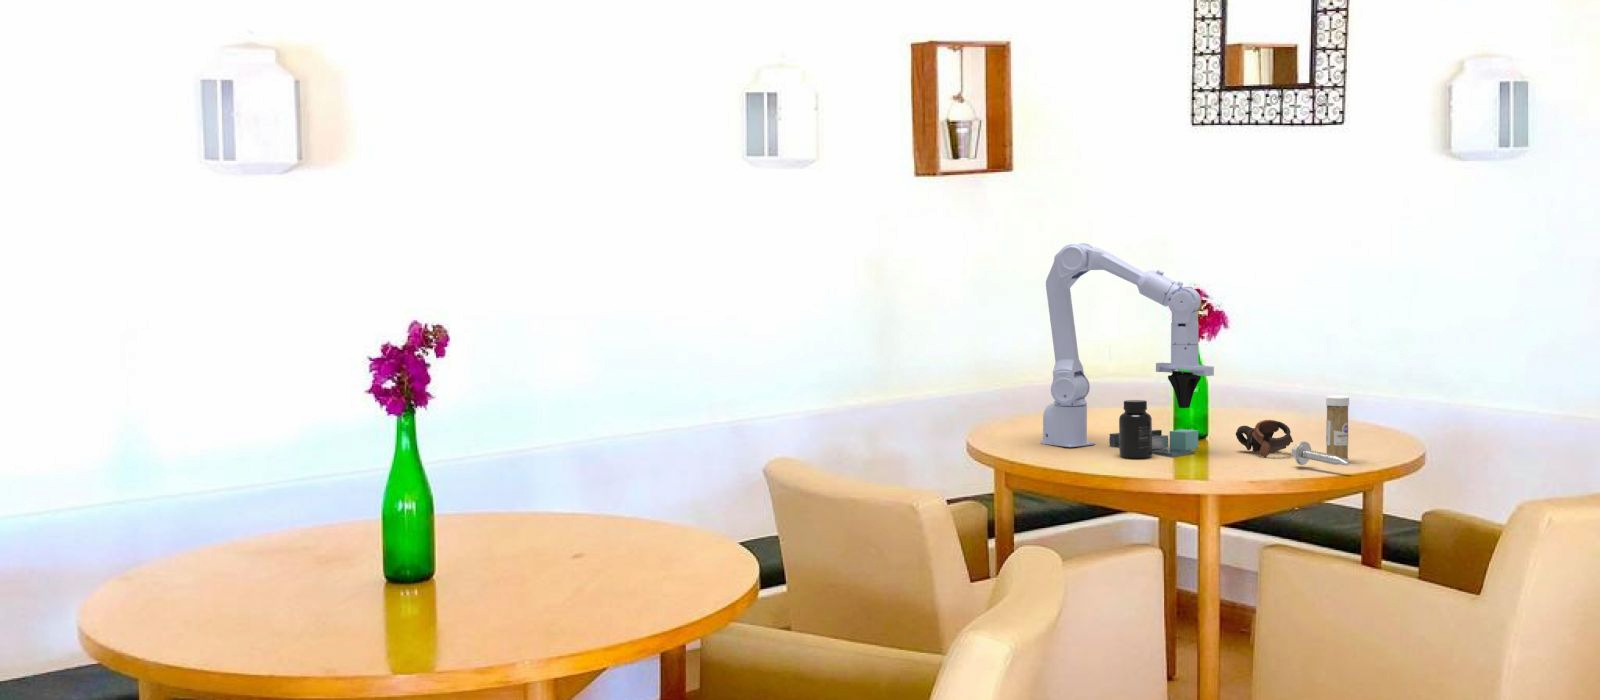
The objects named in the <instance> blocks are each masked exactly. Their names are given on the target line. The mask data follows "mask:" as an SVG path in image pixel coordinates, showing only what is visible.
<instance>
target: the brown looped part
mask: <svg viewBox="0 0 1600 700" xmlns="http://www.w3.org/2000/svg"><path fill="white" fill-rule="evenodd" d="M1280 429H1281V430H1282V431H1283V433H1284V434H1285V435H1283V436H1280V437H1273V436H1274V434H1275V433H1277V432H1278V431H1279V430H1280ZM1235 437H1236V439H1237V440H1238V442H1239V443H1240V444H1241V445H1243V446H1245V448H1246V450H1247V451H1250V450H1251V449H1252V452H1256V451H1257V450H1258V454H1259V455H1260V456H1261V457H1264V458H1266V457H1267V456H1268V455H1269V454H1271V453H1275V452H1279V451H1281V450H1284V449H1287V447H1289V446H1290V445H1291V443H1293V442H1294V439H1293V437H1292V435H1291V430H1290V427H1289V426H1288V425H1287V424H1286V423H1284V422H1282V421H1277V420H1274V419H1264V420H1260V421H1259V422H1257V423H1256V425H1255V426H1254V427H1250V426H1248V425H1240V426H1239V427H1238V428H1237V429H1236V432H1235ZM1278 450H1279V451H1278Z"/></svg>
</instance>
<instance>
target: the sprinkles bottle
mask: <svg viewBox="0 0 1600 700" xmlns="http://www.w3.org/2000/svg"><path fill="white" fill-rule="evenodd" d="M1325 400H1326V401H1325V405H1326V420H1325V421H1326V422H1325V424H1326V429H1325V431H1326V434H1325V435H1326V436H1325V437H1326V439H1325V440H1326V441H1325V443H1326V444H1325V445H1326V452H1325V453H1326V454H1331V455H1336V456H1338V457H1339V458H1344V459H1348V460H1349V457H1348V455H1349V454H1348V453H1349V406H1350V397H1349V396H1347V395H1336V394H1335V395H1327V396H1326V399H1325Z"/></svg>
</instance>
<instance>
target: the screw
mask: <svg viewBox="0 0 1600 700" xmlns="http://www.w3.org/2000/svg"><path fill="white" fill-rule="evenodd" d="M1326 453H1327V452H1325V453H1324V452H1321V451H1316V450H1312V447H1311V445H1310V443H1309V442H1308V441H1300V442H1299V443H1298V445H1297V444H1296V445H1294V446H1293V447H1292V449H1291V456H1292V457H1293V459H1295V462H1296V464H1298V465H1300V466H1305V465H1306V464H1307V463H1308V462H1310V460H1311V461H1316V462H1320V463H1326V464H1331V465H1335V466H1336V465H1337V466H1338V465H1341V466H1348V465H1349V463H1350V461H1349V460H1350V459H1349V458H1348V459H1344V458H1339V457H1338V456H1336V455H1331V454H1326Z"/></svg>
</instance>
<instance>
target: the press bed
mask: <svg viewBox="0 0 1600 700" xmlns="http://www.w3.org/2000/svg"><path fill="white" fill-rule="evenodd" d="M1109 447H1112V448H1116V449H1119V432H1113V433H1109ZM1195 453H1196V451H1194V450H1180V449H1172V448H1170V447H1168V448H1160V449H1152V455H1156V456H1162V457H1165V458H1166V457H1167V458H1172V459H1173V458H1180V457H1184V456H1185V455H1186V456H1190V455H1191V456H1192V455H1195Z"/></svg>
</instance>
